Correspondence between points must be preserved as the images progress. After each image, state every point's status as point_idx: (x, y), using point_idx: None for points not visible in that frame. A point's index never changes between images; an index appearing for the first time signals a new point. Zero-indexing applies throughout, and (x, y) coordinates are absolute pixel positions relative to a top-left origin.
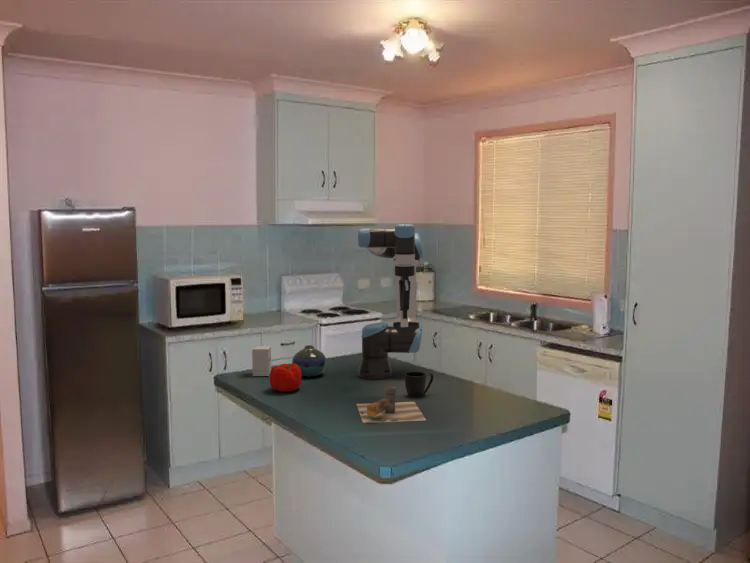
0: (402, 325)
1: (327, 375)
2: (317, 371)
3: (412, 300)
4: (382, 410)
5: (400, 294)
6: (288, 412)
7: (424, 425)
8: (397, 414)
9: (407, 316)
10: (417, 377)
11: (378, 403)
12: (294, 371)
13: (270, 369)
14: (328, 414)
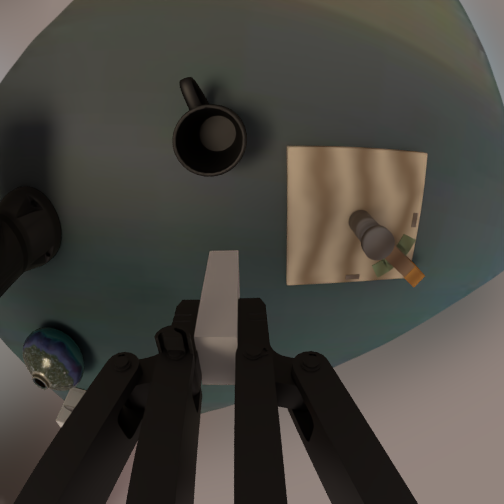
0: (239, 292)
1: (53, 315)
2: (73, 343)
3: None
4: (397, 247)
5: (107, 493)
6: None
7: (431, 159)
8: (380, 206)
9: (238, 301)
10: (246, 138)
11: (409, 264)
12: None
13: (75, 394)
14: (323, 327)
